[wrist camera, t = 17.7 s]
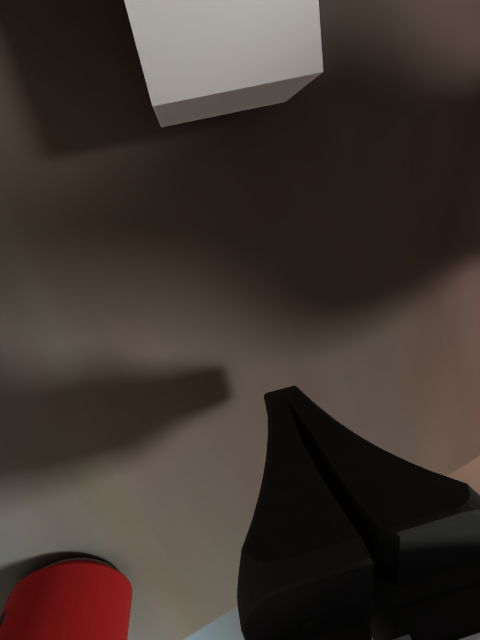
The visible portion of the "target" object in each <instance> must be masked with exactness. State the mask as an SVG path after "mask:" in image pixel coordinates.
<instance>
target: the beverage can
mask: <svg viewBox="0 0 480 640" xmlns="http://www.w3.org/2000/svg"><path fill="white" fill-rule="evenodd" d="M131 601H132V587H131V584H130V582H129V581H128V579H127V578H126V577H125V576H124V575H123V574H122V573H121V572H119V571H118V570H116V569H114V568H113V567H112V566H111V565H109V564H108V563H106V562H103V561H100V560H97V559H92V558H71V559H65V560H61V561H58V562H55V563H52V564H50V565H48V566H46V567H44V568H41V569H39V570H37V571H35V572H33V573H31V574H29V575H27V576H26V577H25V578H23V579H22V580H21V581H19V582H18V583H17V584H16V585H15V587H14V588H13V589H12V591H11V593H10V595H9V597H8V600H7V602H6V604H5V606H4V609H3V611H2V613H1V616H0V640H127V636H128V627H129V618H130V609H131Z"/></svg>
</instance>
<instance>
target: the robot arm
mask: <svg viewBox="0 0 480 640" xmlns="http://www.w3.org/2000/svg"><path fill="white" fill-rule="evenodd" d="M264 400H265V405H266V410H267V415H268V441H267V454H266V462H265V468H264V474H263V479H262V484H261V489H260V493H259V497H258V501H257V504H256V508H255V512H254V515H253V519H252V522H251V525H250V528H249V531H248V533H247V536H246V539H245V542H244V545H243V547H242V551H241V559H240V567H239V576H238V588H237V601H238V611H239V618H240V624H241V631H242V634H243V636H244V639H245V640H372V638H373V640H480V495H479V494H477V493H476V492H475V491H474V490H473V489H472V488H471V487H470V486H469V485H468V484H466V483H463V482H460V481H458V480H454V479H452V478H449V477H446V476H443V475H440V474H437V473H435V472H432V471H429V470H427V469H424V468H422V467H420V466H417V465H415V464H412V463H410V462H408V461H405V460H403V459H401V458H399V457H397V456H395V455H393V454H391V453H389V452H387V451H385V450H383V449H381V448H379V447H377V446H375V445H374V444H372V443H370V442H368V441H367V440H365V439H363V438H362V437H360V436H358V435H357V434H355V433H354V432H352V431H351V430H349V429H348V428H346V427H345V426H344V425H342V424H341V423H339V422H338V421H337V420H335V419H334V418H332V417H331V416H330V415H329V414H327V413H326V412H325V411H324V410H322V409H321V408H320V407H319V406H317V405H316V404H315V403H314V402H313V401H312V400H311V399H309V398H308V397H307V396H306V395H305V394H304V393H303V392H302V391H301V390H300V389H299V388H298V387H296V386H291V387H288V388H284V389H280V390H276V391H272V392H269V393H266V394H265V395H264Z"/></svg>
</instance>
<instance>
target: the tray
mask: <svg viewBox="0 0 480 640" xmlns="http://www.w3.org/2000/svg"><path fill="white" fill-rule="evenodd" d="M124 2H125V5H126V9H127V13H128V17H129V20H130V24H131V28H132V32H133V36H134V39H135V43H136V47H137V51H138V54H139V58H140V62H141V66H142V69H143V73H144V77H145V81H146V84H147V88H148V92H149V96H150V99H151V103H152V107H153V109H154V112H155V114H156V116H157V119H158V121H159V123H160V126H161V128H162V127H166V126H171V125H176V124H181V123H186V122H191V121H195V120H200V119H205V118H210V117H215V116H220V115H225V114H229V113H234V112H239V111H244V110H249V109H254V108H259V107H263V106H268V105H273V104H278V103H283V102H286V101H287V100H288V99H290V98H291V97H292V96H294V95H295V94H296V93H297V92H299V91H300V90H301V89H302V88H304V87H305V86H306V85H307V84H309V83H310V82H311V81H313V80H314V79H315V78H316V77H318V76H319V75H320V74H321V73H323V60H322V45H321V30H320V15H319V0H124Z"/></svg>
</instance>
